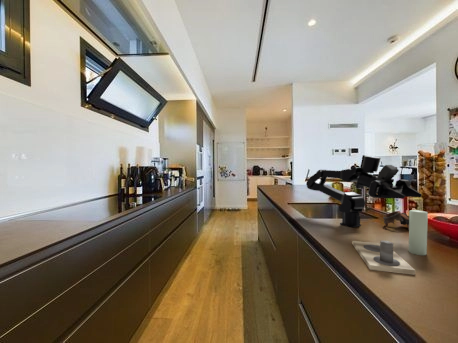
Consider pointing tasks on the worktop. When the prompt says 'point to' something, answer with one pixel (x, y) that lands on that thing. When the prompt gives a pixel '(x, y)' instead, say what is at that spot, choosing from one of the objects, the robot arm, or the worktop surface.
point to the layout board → (379, 266)
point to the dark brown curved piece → (397, 218)
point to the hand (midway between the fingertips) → (412, 196)
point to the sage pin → (418, 232)
